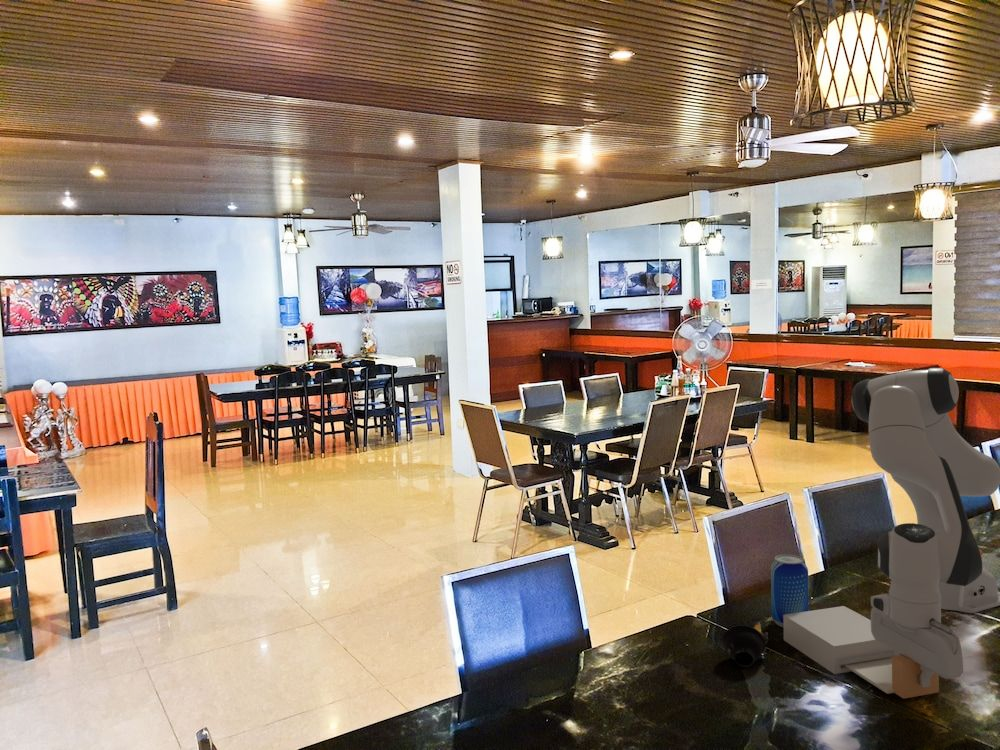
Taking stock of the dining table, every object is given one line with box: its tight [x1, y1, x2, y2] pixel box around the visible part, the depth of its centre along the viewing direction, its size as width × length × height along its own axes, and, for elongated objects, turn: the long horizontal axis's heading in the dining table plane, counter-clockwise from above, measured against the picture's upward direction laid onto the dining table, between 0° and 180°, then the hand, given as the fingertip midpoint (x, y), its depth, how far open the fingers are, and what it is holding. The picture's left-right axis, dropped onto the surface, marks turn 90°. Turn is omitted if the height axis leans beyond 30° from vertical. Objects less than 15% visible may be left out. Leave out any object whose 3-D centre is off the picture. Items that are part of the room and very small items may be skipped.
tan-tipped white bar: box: [843, 655, 940, 699], centre depth 159 cm, size 11×22×7 cm, turn 13°
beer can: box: [770, 554, 810, 628], centre depth 188 cm, size 8×8×16 cm
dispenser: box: [783, 605, 895, 675], centre depth 171 cm, size 16×19×6 cm
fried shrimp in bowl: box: [721, 621, 769, 668], centre depth 173 cm, size 9×11×18 cm
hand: (914, 680), depth 150 cm, fingers closed on tan-tipped white bar, 3 cm apart
